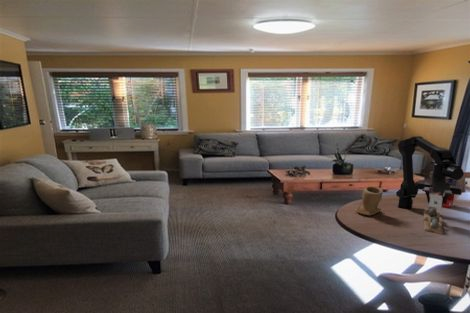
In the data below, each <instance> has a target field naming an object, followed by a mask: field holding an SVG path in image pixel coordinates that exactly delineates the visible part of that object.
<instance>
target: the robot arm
mask: <svg viewBox="0 0 470 313" xmlns="http://www.w3.org/2000/svg"><path fill="white" fill-rule="evenodd" d="M397 147H398V151H399V153H400V155H401V157H402V158H401V159H402V177H403V180H402V182H401V184H400V186H399V187H400V188H399V189H398V191H396V192H395V195H396V197H397V198H398V205H397V208H400V209H407V210H412V208H413V202H414V200H413V199H415V198H416V197H417V195H418V194H419V191H420V190H422V192H424V194H425V196H426V199H427V203H428V204H429V201H430V189H431V191H432V192H434V193H438V192H440V193H443V197H442V204H443V203H444V201H445V200H446V198H447V197H448V196H449V195H453V194H454V195H459V196H461V195H462V192H463V190H462V188H461V186H457V185H451V183H449V182H447V181H446V180H447V178H449V179H452V180H455V181H458V180H461V179H462V178H463V177H464V175H465V172H464V169H462V168H461V165H459V164H457V162H456V160H455V158H454V155H453V152H452V151H451V149H448V148H447V147H440V146H437V145H435V144H434V143H432V142H431V141H429V140H428V139H426V138H424V137H423V136H421V135H420V136H419V135H417V136H411V137H409V138H406V139H401V140H400V141H399V142H398V143H397ZM417 147H418V148H420V149H422V150H423V151H425V152H426V153H428V154H429V156H430V158H431V159H432V161H430V162H429V163H430V164H432V165H433V167H432V174H431V181H430V184H429V183H428V184H427V183H426V182H425V181H418V180H417V181H414V164H413V163H414V162H413V160H414V159H413V155H414V153H415V152H416V148H417ZM452 193H453V194H452Z"/></svg>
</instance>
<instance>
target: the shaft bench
mask: <svg viewBox="0 0 470 313" xmlns="http://www.w3.org/2000/svg"><path fill="white" fill-rule="evenodd" d="M427 208H428V209H427V210H426V209H424V210H423V225H424V226H423V227H424V228H423V229H424V231H425V232H429V233H435V234H440V235H444V229H443V218H442V217H441V213H440V212H437V208H436V207H430V206H428V207H427Z"/></svg>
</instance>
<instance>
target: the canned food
mask: <svg viewBox="0 0 470 313" xmlns="http://www.w3.org/2000/svg"><path fill="white" fill-rule="evenodd" d="M452 194H453V193H452ZM437 195H439V196H442V197H443V193H440V192H437ZM454 200H455V194H453V195H449V196H448V197H447V198H446V200H445V201H444V203H443V204H442V206H441V208H447V209H449V208H450V209H451V208H452V207H453V204H454Z"/></svg>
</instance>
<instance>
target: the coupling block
mask: <svg viewBox="0 0 470 313" xmlns="http://www.w3.org/2000/svg"><path fill="white" fill-rule="evenodd" d="M429 197H430V201H429V203H428V207H429V208H430V207H435V209H437V208H438V209H442V207H441V206H442V196H439V195H438V194H431V193H429Z"/></svg>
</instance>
